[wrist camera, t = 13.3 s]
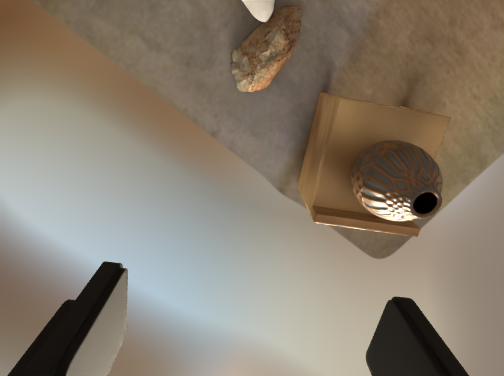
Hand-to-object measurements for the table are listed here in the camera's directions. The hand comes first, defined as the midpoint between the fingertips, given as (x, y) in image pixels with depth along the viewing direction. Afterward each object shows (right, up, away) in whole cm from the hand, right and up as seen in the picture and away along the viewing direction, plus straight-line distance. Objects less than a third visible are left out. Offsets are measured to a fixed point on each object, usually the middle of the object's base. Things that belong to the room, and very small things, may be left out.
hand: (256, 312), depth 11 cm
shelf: (+12, +9, +27) cm, 31 cm away
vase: (+12, +6, +20) cm, 24 cm away
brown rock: (+1, +20, +23) cm, 30 cm away
